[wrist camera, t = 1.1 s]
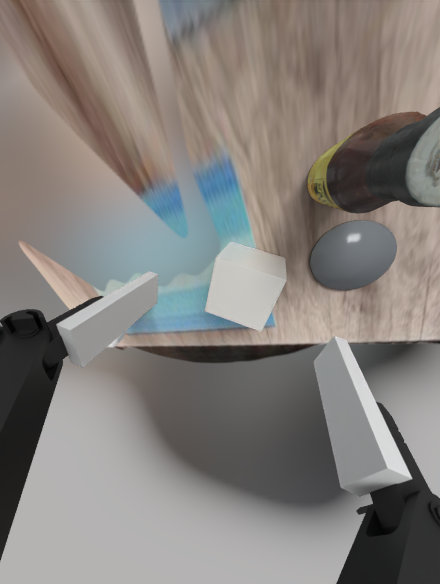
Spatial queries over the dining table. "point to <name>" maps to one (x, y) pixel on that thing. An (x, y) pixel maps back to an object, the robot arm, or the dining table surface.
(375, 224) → the dark grey disc
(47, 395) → the robot arm
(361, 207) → the sauce bottle
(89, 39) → the dining table surface
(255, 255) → the white block
